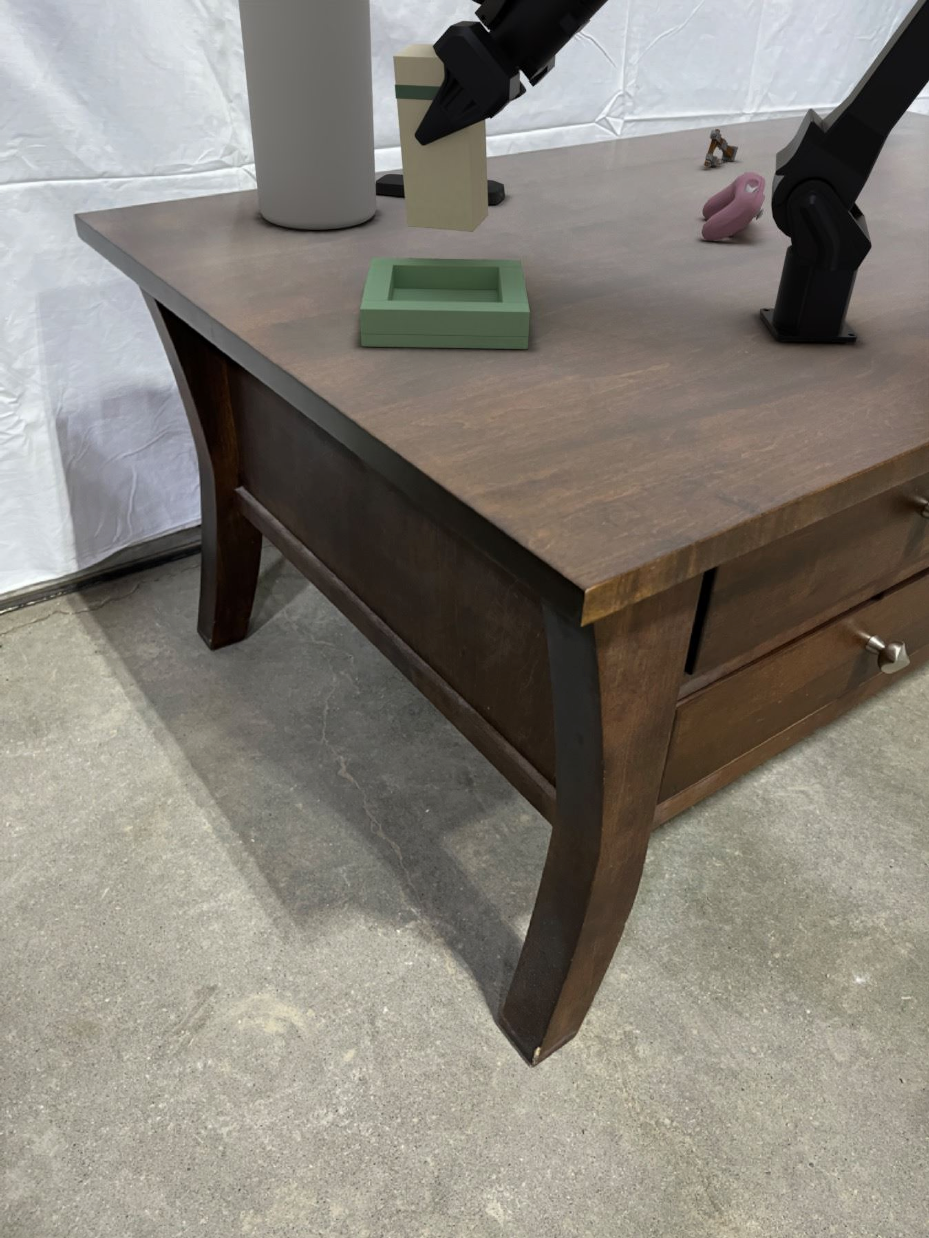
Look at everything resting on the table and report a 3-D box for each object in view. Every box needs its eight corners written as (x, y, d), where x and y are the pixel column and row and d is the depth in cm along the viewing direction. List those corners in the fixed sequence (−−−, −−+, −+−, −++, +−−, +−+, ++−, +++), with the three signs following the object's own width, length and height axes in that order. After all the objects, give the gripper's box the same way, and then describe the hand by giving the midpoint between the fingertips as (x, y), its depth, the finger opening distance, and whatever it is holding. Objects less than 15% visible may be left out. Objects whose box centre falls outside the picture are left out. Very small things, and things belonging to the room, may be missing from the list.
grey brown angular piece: (697, 162, 128) (708, 125, 126) (715, 179, 134) (726, 143, 133) (710, 164, 127) (721, 127, 126) (728, 181, 134) (738, 145, 132)
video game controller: (734, 260, 102) (777, 198, 98) (697, 236, 102) (739, 173, 97) (732, 234, 110) (773, 176, 106) (698, 212, 109) (737, 152, 105)
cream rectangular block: (489, 215, 85) (484, 45, 77) (473, 232, 83) (466, 58, 74) (424, 210, 87) (411, 43, 79) (406, 226, 84) (391, 56, 76)
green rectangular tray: (527, 349, 77) (530, 311, 75) (361, 346, 77) (359, 308, 75) (519, 294, 88) (521, 260, 86) (372, 291, 87) (371, 257, 86)
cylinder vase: (358, 197, 113) (346, -67, 98) (391, 226, 104) (384, -61, 89) (249, 205, 110) (220, -68, 95) (274, 236, 100) (246, -62, 85)
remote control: (372, 198, 115) (496, 205, 112) (371, 182, 114) (496, 188, 111) (386, 189, 119) (507, 195, 115) (385, 173, 118) (507, 178, 114)
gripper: (525, -118, 77) (394, 38, 86) (464, -121, 63) (314, 68, 71) (615, 5, 80) (480, 143, 89) (576, 29, 66) (420, 192, 74)
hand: (427, 135), depth 81 cm, fingers closed on cream rectangular block, 5 cm apart
